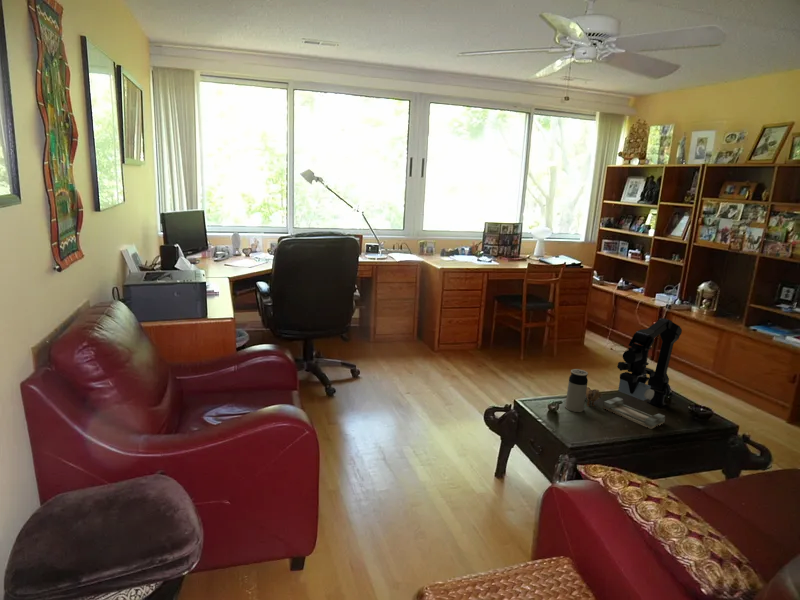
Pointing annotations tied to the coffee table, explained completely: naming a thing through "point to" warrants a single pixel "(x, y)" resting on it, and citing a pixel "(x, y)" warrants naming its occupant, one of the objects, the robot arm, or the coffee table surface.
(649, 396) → the slate grey rectangular prism
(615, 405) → the cradle
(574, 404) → the travel mug
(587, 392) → the lion figurine
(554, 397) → the coffee table surface
